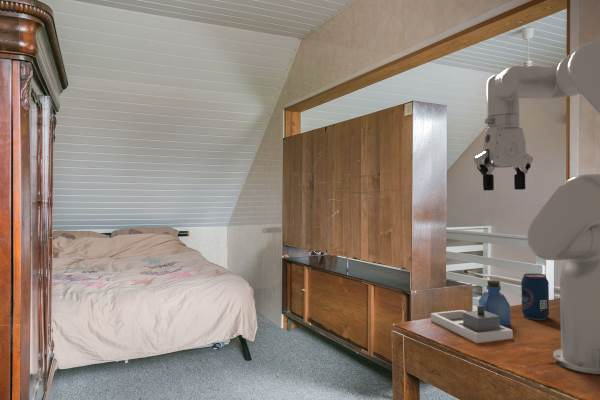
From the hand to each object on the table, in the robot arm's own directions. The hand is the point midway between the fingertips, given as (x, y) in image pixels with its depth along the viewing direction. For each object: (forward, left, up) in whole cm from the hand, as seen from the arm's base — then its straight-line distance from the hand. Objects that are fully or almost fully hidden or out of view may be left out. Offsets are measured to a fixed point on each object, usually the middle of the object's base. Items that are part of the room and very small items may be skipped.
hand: (504, 189), depth 117 cm
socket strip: (+2, +10, -37) cm, 38 cm away
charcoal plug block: (-3, +10, -36) cm, 37 cm away
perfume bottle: (+5, 0, -37) cm, 37 cm away
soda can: (+8, -16, -37) cm, 41 cm away
